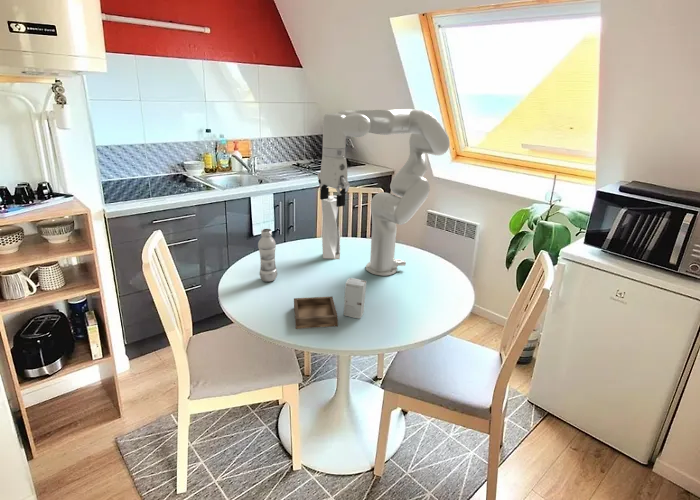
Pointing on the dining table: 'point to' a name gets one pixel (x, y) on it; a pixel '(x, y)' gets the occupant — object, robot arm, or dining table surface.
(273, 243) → the plastic bottle
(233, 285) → the dining table surface
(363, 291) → the skincare box
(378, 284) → the dining table surface
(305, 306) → the walnut tray
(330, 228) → the skyscraper
